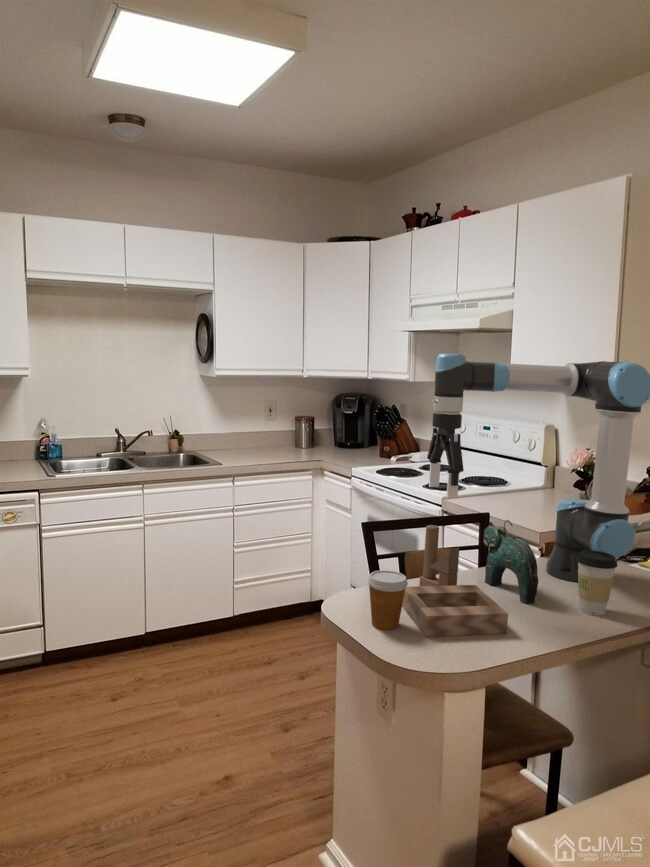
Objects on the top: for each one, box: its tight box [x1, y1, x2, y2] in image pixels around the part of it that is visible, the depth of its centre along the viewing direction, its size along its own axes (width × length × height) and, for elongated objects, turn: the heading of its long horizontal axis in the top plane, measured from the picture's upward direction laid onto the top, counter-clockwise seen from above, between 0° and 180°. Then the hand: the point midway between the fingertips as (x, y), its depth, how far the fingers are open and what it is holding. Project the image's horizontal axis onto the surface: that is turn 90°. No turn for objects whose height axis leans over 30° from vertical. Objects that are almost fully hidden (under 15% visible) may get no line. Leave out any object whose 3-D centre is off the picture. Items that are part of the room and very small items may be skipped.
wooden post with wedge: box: [418, 524, 460, 586], centre depth 179 cm, size 4×11×18 cm, turn 35°
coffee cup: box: [577, 550, 619, 617], centre depth 171 cm, size 10×10×15 cm
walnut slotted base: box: [402, 584, 509, 638], centre depth 163 cm, size 20×19×5 cm
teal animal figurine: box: [482, 519, 539, 605], centre depth 183 cm, size 20×6×20 cm, turn 23°
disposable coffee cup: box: [367, 569, 409, 631], centre depth 157 cm, size 10×10×12 cm
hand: (442, 492), depth 176 cm, fingers open, 13 cm apart
